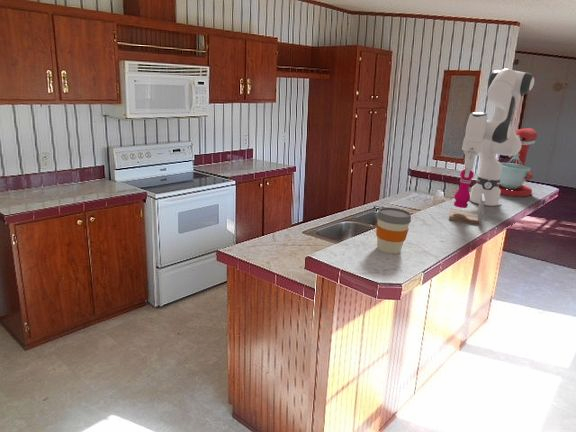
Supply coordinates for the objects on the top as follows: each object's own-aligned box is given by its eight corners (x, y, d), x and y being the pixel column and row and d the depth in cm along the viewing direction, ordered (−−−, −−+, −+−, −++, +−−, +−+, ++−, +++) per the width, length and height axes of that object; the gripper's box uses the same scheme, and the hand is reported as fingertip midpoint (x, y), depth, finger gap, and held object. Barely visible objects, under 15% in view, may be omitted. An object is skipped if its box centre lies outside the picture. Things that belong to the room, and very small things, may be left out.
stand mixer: (483, 190, 294) (497, 126, 282) (498, 184, 317) (512, 125, 305) (523, 199, 279) (539, 132, 267) (536, 192, 303) (552, 130, 291)
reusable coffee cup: (412, 252, 178) (418, 215, 173) (388, 257, 171) (394, 218, 166) (389, 241, 188) (394, 206, 183) (365, 245, 181) (371, 208, 176)
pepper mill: (469, 209, 224) (478, 168, 218) (453, 207, 226) (462, 166, 220) (466, 205, 231) (475, 165, 225) (451, 203, 232) (459, 164, 226)
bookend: (450, 211, 239) (454, 189, 235) (478, 216, 234) (484, 193, 231) (448, 220, 224) (453, 196, 221) (479, 225, 220) (484, 201, 216)
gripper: (479, 150, 209) (473, 180, 214) (478, 145, 228) (473, 173, 232) (464, 149, 211) (459, 178, 216) (465, 143, 230) (459, 171, 234)
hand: (466, 175), depth 224 cm, fingers closed on pepper mill, 6 cm apart
